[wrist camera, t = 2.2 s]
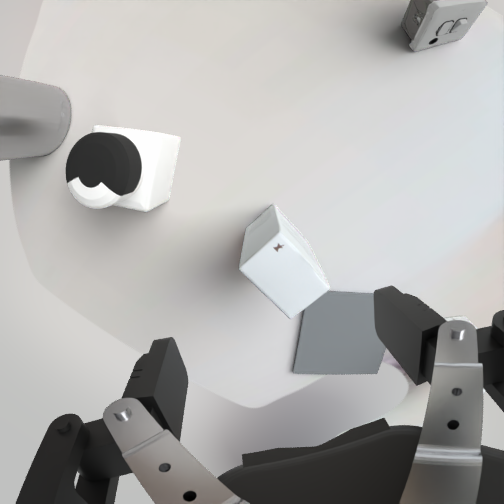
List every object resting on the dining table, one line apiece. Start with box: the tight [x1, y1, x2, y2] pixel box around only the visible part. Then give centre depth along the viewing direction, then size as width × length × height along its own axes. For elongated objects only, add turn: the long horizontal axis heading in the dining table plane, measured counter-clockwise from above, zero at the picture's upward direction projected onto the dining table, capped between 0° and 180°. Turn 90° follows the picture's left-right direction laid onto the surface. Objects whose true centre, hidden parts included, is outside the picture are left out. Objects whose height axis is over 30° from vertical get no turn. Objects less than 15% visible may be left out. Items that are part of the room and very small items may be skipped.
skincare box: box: [239, 204, 330, 319], centre depth 28 cm, size 6×4×12 cm
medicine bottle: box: [66, 125, 181, 212], centre depth 26 cm, size 7×7×12 cm
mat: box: [293, 291, 386, 374], centre depth 37 cm, size 12×12×1 cm
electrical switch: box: [401, 0, 488, 52], centre depth 21 cm, size 9×5×9 cm, turn 118°
